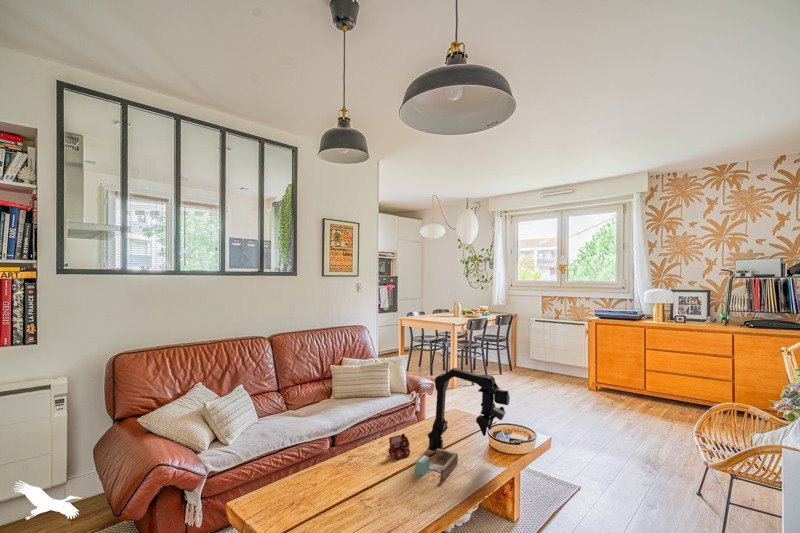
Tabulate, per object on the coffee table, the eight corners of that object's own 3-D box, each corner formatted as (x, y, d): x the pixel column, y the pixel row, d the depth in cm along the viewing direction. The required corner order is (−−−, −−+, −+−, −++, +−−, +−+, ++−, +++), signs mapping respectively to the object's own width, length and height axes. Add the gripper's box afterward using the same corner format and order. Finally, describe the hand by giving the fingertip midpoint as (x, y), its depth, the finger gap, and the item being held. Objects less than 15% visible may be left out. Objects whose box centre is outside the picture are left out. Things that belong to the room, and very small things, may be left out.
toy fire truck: (413, 454, 198) (413, 434, 198) (393, 461, 191) (394, 440, 191) (404, 449, 204) (405, 430, 204) (385, 455, 196) (386, 435, 196)
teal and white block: (423, 476, 177) (423, 462, 177) (415, 474, 179) (415, 460, 179) (429, 469, 183) (429, 456, 184) (421, 467, 185) (421, 454, 185)
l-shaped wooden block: (421, 475, 178) (421, 464, 178) (437, 458, 195) (437, 448, 195) (443, 481, 173) (443, 470, 173) (457, 463, 190) (457, 453, 190)
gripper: (499, 410, 181) (498, 443, 181) (508, 399, 198) (507, 429, 197) (476, 405, 187) (475, 437, 186) (486, 395, 203) (486, 425, 203)
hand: (487, 432), depth 193 cm, fingers open, 9 cm apart
